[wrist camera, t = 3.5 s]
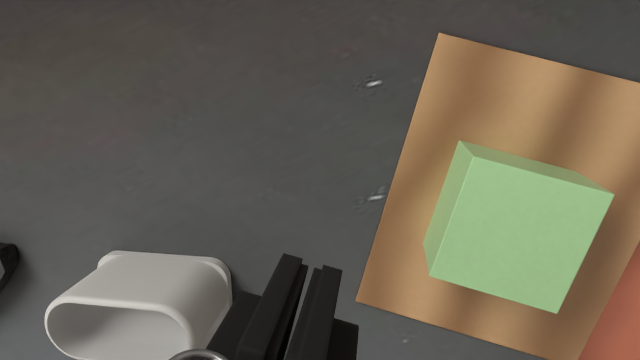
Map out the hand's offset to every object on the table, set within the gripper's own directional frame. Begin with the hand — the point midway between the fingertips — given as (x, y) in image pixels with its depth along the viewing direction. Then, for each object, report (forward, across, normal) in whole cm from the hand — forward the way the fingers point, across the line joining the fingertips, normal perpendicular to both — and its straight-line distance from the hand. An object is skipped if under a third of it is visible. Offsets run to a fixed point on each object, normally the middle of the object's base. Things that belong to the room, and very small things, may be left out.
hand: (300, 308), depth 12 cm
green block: (+16, -10, 0) cm, 19 cm away
